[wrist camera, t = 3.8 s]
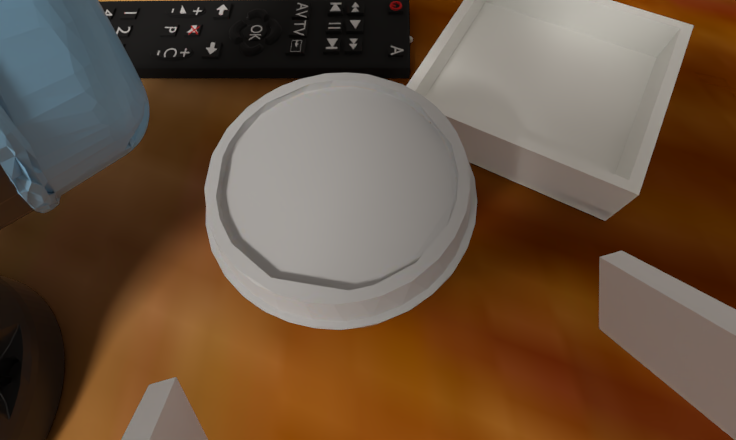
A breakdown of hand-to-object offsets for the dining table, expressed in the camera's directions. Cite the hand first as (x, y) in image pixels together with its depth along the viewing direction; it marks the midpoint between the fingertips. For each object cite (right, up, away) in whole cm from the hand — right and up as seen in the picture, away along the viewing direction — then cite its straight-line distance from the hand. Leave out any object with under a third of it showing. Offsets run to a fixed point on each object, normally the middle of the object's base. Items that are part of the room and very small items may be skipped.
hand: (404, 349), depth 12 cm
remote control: (-13, +18, +21) cm, 31 cm away
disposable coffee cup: (-2, +1, +12) cm, 12 cm away
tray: (+11, +13, +17) cm, 24 cm away
